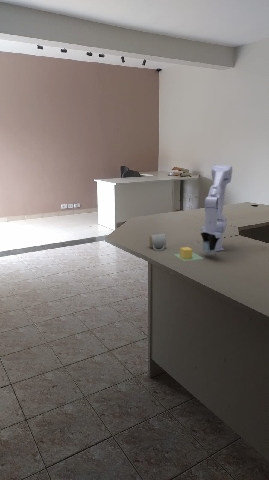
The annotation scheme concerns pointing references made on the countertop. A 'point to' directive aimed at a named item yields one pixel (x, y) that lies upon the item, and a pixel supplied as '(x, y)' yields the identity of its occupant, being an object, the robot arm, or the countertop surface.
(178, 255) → the baseplate
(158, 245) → the ceramic mug
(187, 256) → the yellow brick
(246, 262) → the countertop surface
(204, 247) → the blue brick
